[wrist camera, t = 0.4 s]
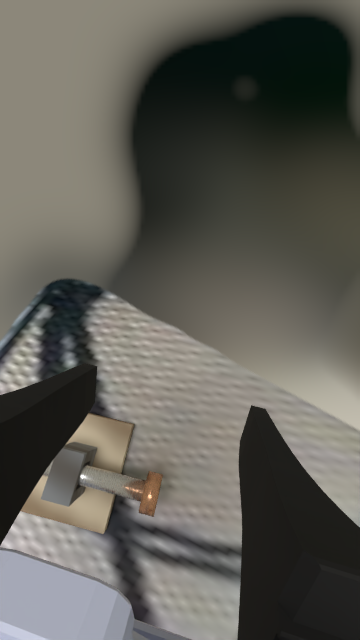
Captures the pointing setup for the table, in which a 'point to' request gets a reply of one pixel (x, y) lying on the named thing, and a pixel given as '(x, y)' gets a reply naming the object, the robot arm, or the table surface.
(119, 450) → the bearing board
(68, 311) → the table surface
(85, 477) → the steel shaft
